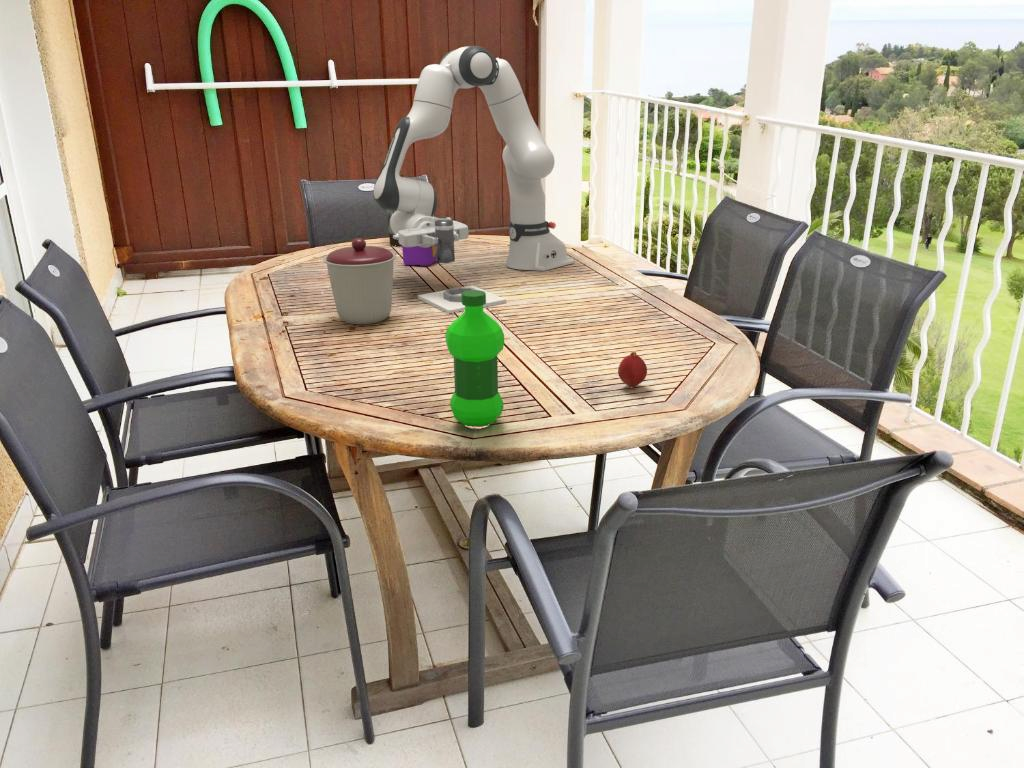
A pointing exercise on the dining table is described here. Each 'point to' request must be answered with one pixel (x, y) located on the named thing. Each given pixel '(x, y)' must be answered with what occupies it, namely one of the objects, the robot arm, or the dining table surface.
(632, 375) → the onion
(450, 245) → the lens tube
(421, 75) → the robot arm
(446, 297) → the mount board
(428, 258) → the toy camera
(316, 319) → the dining table surface
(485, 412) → the plastic bottle
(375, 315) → the canister
